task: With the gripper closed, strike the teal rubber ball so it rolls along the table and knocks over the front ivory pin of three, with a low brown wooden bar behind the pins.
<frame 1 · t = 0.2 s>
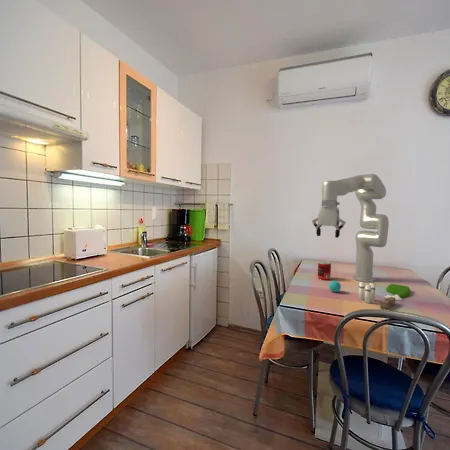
hand: (327, 236, 138), 30 cm above the table, tool pointing down, fingers open, 9 cm apart
canned food: (323, 279, 167), on the table
brown wooden bar: (387, 306, 120), on the table
front pin: (361, 299, 130), on the table
back pin far: (371, 300, 128), on the table
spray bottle: (396, 295, 139), on the table
ball: (334, 286, 141), on the table
back pin near: (367, 302, 125), on the table
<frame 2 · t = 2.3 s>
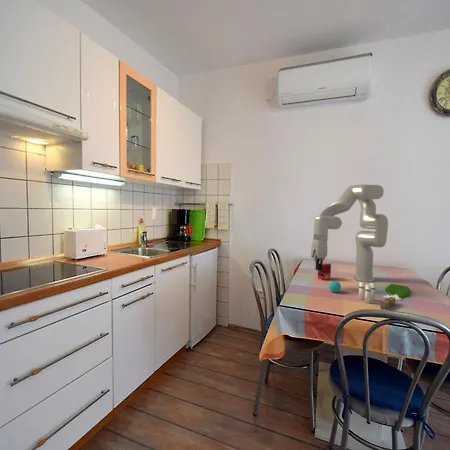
hand: (318, 270, 147), 10 cm above the table, tool pointing down, fingers closed
nothing on the table moved.
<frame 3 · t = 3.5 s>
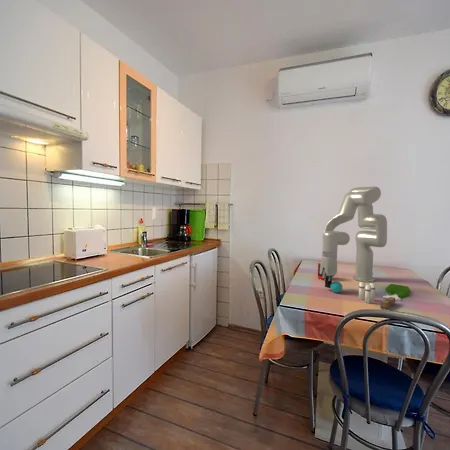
hand: (328, 287, 143), 2 cm above the table, tool pointing down, fingers closed
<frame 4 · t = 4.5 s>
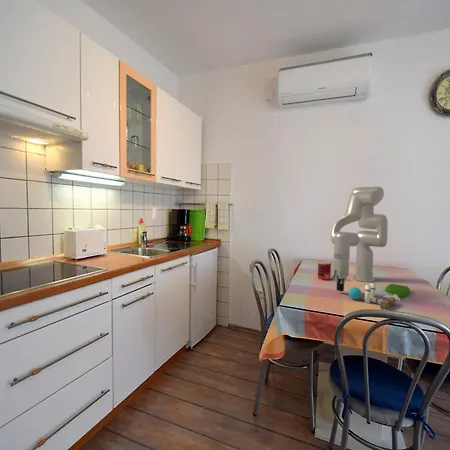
hand: (340, 290, 138), 2 cm above the table, tool pointing down, fingers closed
front pin: (364, 297, 129), point 1 cm above the table, tilted 90°
ball: (355, 293, 129), on the table
everything else where it was.
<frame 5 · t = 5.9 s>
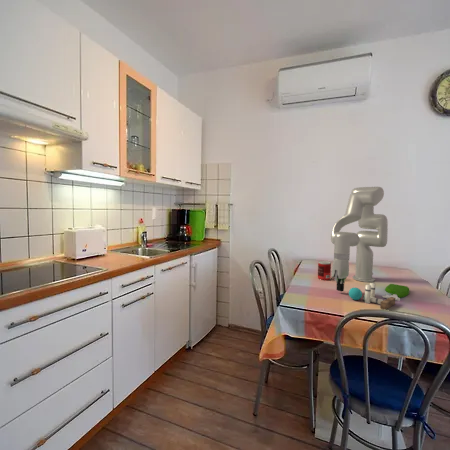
hand: (340, 290, 138), 2 cm above the table, tool pointing down, fingers closed
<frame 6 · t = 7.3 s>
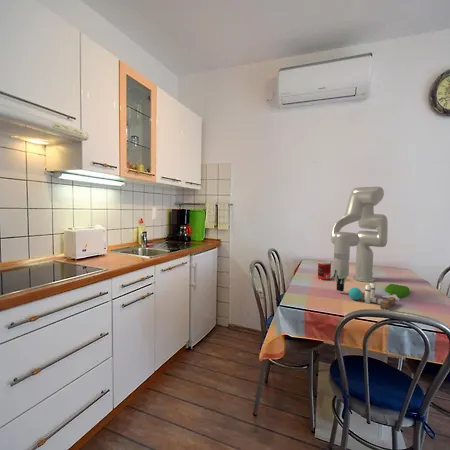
hand: (340, 290, 138), 2 cm above the table, tool pointing down, fingers closed
nothing on the table moved.
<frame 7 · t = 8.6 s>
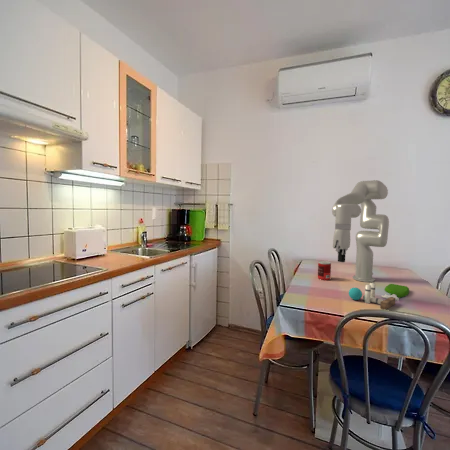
hand: (341, 261, 137), 17 cm above the table, tool pointing down, fingers closed
nothing on the table moved.
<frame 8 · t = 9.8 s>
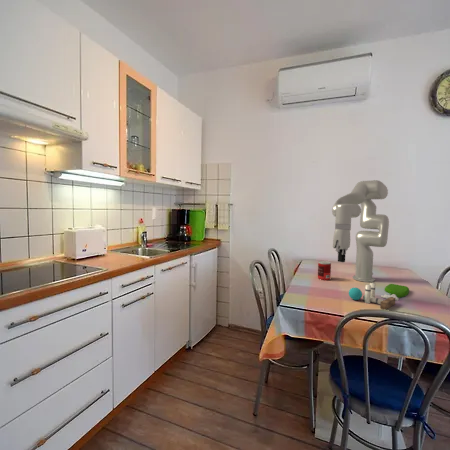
hand: (341, 261, 137), 17 cm above the table, tool pointing down, fingers closed
nothing on the table moved.
at the end: front pin tilted 90°; front pin never touched the robot; ball moved 13.0 cm from its start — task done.
